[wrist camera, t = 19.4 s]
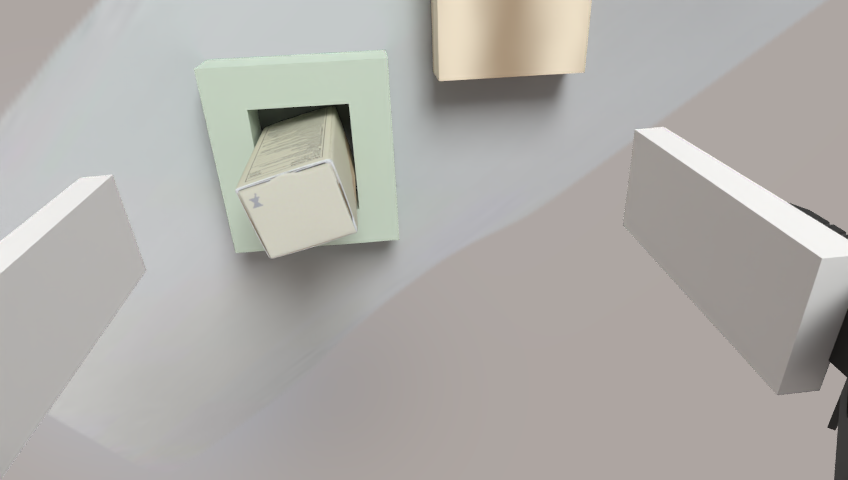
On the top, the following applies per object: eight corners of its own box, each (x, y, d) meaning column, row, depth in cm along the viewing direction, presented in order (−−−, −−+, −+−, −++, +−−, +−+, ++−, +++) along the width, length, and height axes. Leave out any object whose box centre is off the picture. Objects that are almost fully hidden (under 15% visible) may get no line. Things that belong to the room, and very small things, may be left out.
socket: (385, 49, 35) (387, 58, 32) (396, 220, 40) (399, 239, 38) (206, 59, 34) (193, 69, 31) (243, 232, 39) (235, 253, 37)
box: (287, 183, 38) (263, 263, 28) (261, 125, 36) (226, 190, 26) (359, 161, 38) (360, 234, 28) (338, 101, 36) (331, 158, 26)
